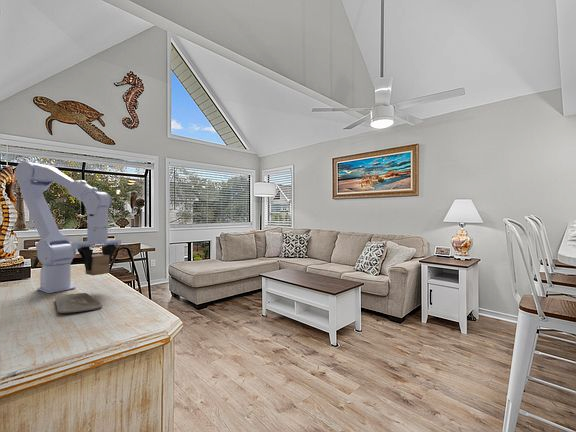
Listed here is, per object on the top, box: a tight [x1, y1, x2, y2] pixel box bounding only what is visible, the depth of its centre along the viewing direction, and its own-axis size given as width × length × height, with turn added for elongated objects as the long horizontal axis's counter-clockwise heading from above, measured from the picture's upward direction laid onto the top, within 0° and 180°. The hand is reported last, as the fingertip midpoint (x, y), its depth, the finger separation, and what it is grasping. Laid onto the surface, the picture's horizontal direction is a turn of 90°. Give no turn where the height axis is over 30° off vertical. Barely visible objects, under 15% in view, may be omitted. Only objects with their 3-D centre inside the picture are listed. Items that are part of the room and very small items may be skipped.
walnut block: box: [85, 253, 110, 276], centre depth 100 cm, size 5×5×6 cm
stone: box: [55, 292, 103, 314], centre depth 86 cm, size 18×3×10 cm
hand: (97, 268), depth 100 cm, fingers closed on walnut block, 5 cm apart
